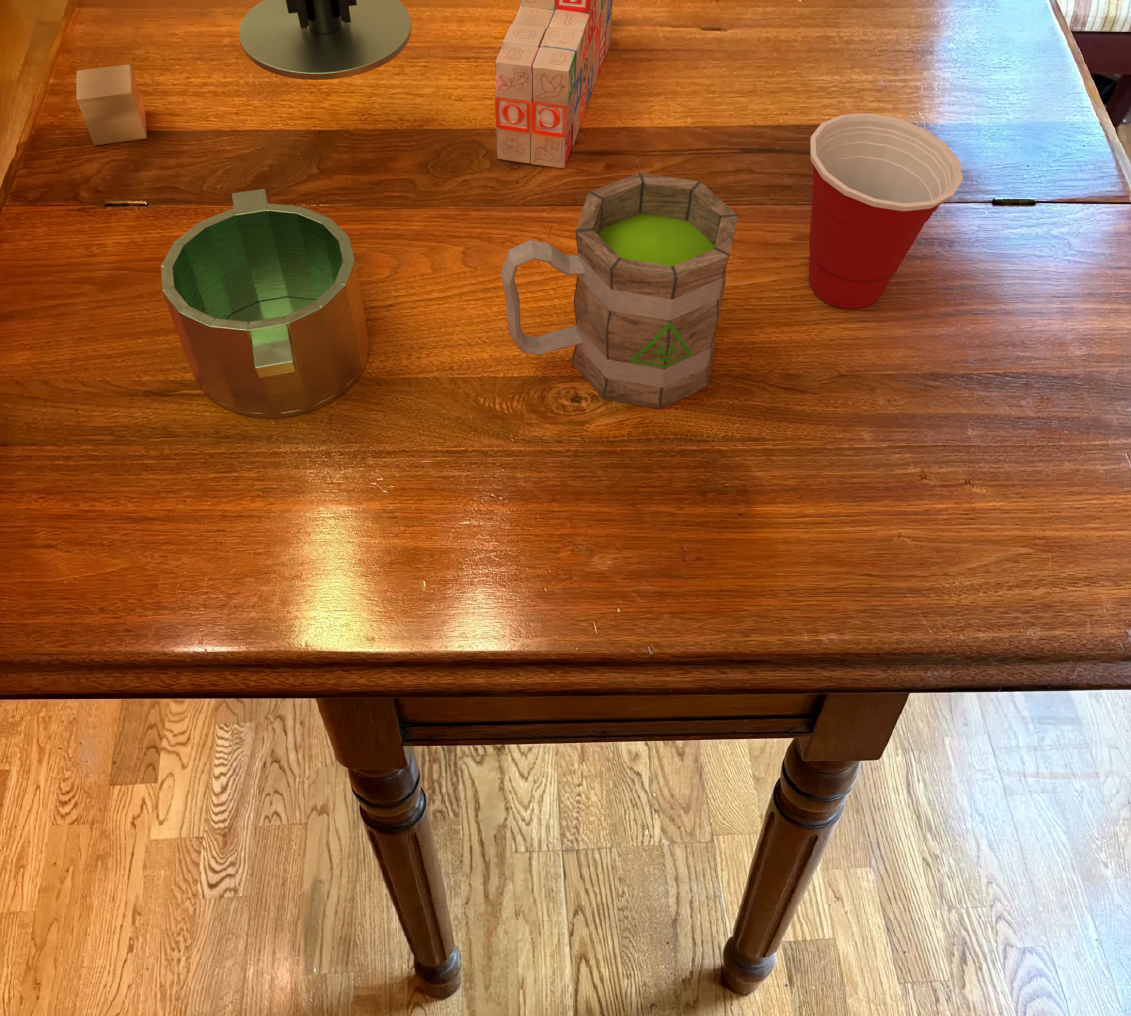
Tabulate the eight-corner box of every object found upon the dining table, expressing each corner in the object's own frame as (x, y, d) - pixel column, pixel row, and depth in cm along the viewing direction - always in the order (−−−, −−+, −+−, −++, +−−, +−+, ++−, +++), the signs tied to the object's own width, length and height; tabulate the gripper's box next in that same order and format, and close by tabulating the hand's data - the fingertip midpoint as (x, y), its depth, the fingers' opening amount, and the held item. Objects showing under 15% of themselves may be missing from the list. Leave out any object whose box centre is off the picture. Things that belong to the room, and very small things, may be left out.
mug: (697, 298, 83) (717, 165, 74) (734, 400, 77) (761, 269, 67) (495, 319, 81) (488, 186, 72) (515, 426, 75) (511, 295, 65)
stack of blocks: (566, 171, 93) (569, 35, 83) (495, 161, 93) (490, 25, 83) (611, 41, 105) (618, -91, 95) (548, 33, 106) (549, -99, 96)
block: (93, 146, 94) (75, 99, 90) (93, 116, 96) (76, 70, 93) (147, 139, 94) (131, 92, 91) (145, 110, 97) (130, 63, 93)
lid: (250, 98, 82) (230, 17, 77) (235, 7, 90) (216, -72, 85) (426, 74, 84) (418, -7, 79) (397, -13, 92) (388, -91, 87)
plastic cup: (934, 331, 82) (987, 199, 72) (793, 336, 81) (827, 204, 71) (898, 238, 88) (942, 106, 78) (767, 242, 87) (795, 109, 78)
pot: (202, 462, 73) (167, 374, 66) (187, 287, 83) (155, 195, 76) (388, 428, 75) (372, 339, 68) (350, 261, 85) (334, 169, 78)
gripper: (389, -284, 74) (416, -19, 89) (147, -264, 71) (216, 5, 86) (409, -243, 70) (433, 28, 85) (151, -221, 67) (223, 55, 82)
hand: (323, 15), depth 85 cm, fingers closed on lid, 2 cm apart
